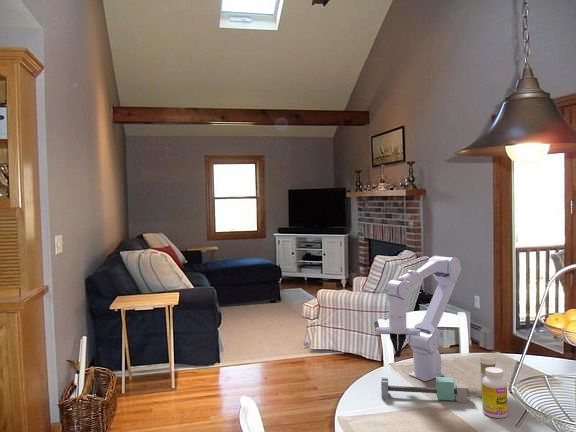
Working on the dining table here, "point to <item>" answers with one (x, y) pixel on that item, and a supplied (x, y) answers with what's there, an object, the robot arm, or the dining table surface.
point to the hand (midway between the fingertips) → (397, 356)
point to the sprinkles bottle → (486, 364)
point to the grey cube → (462, 393)
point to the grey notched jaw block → (384, 388)
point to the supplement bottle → (494, 393)
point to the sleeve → (445, 388)
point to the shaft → (414, 389)
